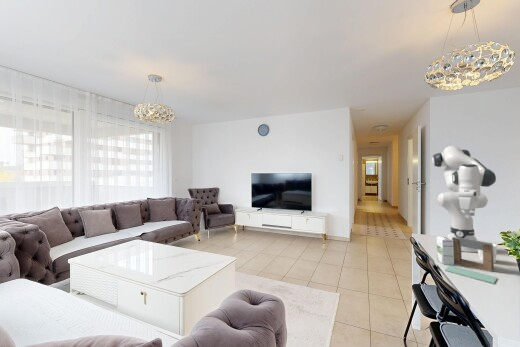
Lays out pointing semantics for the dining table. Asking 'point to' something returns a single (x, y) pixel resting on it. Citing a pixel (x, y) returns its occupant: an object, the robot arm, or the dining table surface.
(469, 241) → the rail
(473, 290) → the dining table surface
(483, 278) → the mat
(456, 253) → the rack
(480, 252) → the white cup
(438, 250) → the syrup box
